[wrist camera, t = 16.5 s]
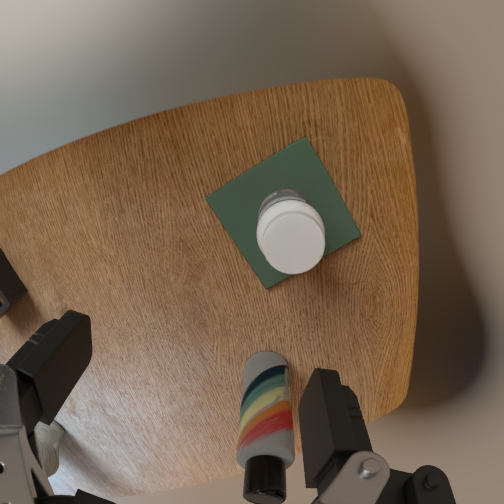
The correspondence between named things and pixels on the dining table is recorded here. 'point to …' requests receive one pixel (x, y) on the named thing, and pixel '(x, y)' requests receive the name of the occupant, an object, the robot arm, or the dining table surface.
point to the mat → (271, 180)
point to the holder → (9, 285)
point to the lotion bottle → (265, 428)
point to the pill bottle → (290, 232)
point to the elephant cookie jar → (49, 445)
